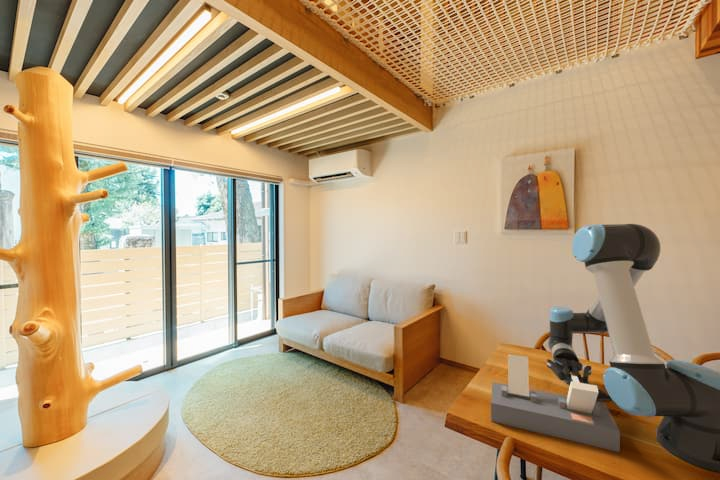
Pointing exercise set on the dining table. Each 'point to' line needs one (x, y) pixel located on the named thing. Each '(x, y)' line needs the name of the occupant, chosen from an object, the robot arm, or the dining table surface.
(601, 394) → the phone
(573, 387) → the lever
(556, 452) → the dining table surface
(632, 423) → the dining table surface
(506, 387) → the switch unit
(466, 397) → the dining table surface
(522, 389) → the lever
